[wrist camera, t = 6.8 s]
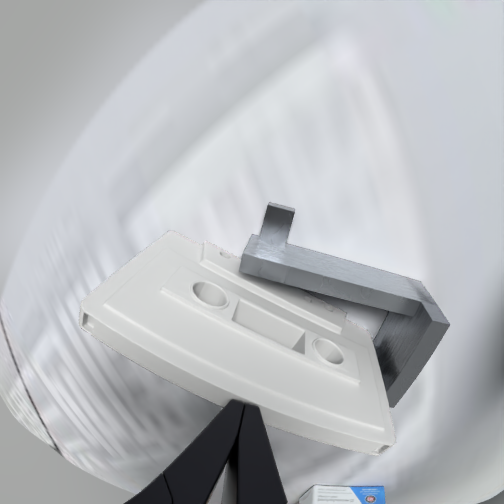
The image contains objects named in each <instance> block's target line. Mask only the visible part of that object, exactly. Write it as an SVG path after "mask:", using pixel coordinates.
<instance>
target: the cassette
mask: <svg viewBox="0 0 504 504" xmlns="http://www.w3.org/2000/svg"><path fill="white" fill-rule="evenodd" d="M240 263H241V259H240V258H239V257H237V256H235V255H233V254H231V253H229V252H227V251H225V250H223V249H221V248H219V247H217V246H216V245H214V244H212V243H210V242H208V241H205V242H204V243H203V244H198V243H196V242H194V241H192V240H190V239H189V238H187V237H185V236H183V235H181V234H179V233H177V232H175V231H168V232H167V233H165V234H164V235H163V236H161V237H160V238H159V239H157V240H156V241H155V242H153V243H152V244H151V245H149V246H148V247H147V248H146V249H144V250H143V251H142V252H140V253H139V254H138V255H137V256H135V257H134V258H133V259H131V260H130V261H129V262H128V263H126V264H125V265H124V266H123V267H121V268H120V269H119V270H118V271H116V272H115V273H114V274H113V275H111V276H110V277H109V278H108V279H106V280H105V281H104V282H103V283H102V284H100V285H99V286H98V287H97V288H96V289H94V290H93V291H92V292H91V293H90V294H88V295H87V296H86V297H85V298H84V299H83V300H82V301H81V306H80V314H79V326H80V327H81V329H83V330H84V331H86V332H87V333H89V334H90V335H92V336H93V337H95V338H96V339H98V340H99V341H101V342H102V343H104V344H105V345H107V346H108V347H110V348H112V349H113V350H115V351H116V352H118V353H120V354H121V355H123V356H125V357H126V358H128V359H130V360H131V361H133V362H135V363H136V364H138V365H140V366H142V367H143V368H145V369H147V370H149V371H150V372H152V373H154V374H156V375H158V376H160V377H161V378H163V379H165V380H167V381H169V382H171V383H173V384H175V385H177V386H179V387H181V388H183V389H185V390H187V391H189V392H191V393H193V394H195V395H197V396H199V397H201V398H203V399H206V400H208V401H210V402H212V403H214V404H217V405H219V406H221V407H223V408H224V407H225V406H226V405H227V404H228V402H229V401H230V400H232V399H234V400H238V401H242V402H244V404H246V403H249V404H253V405H257V406H259V408H260V411H261V414H262V418H263V421H264V424H266V425H269V426H271V427H274V428H277V429H280V430H283V431H286V432H289V433H292V434H295V435H298V436H301V437H304V438H307V439H311V440H314V441H318V442H321V443H325V444H328V445H332V446H336V447H339V448H343V449H347V450H352V451H356V452H360V453H365V454H369V455H374V456H379V455H380V454H382V453H383V452H385V451H386V450H388V449H389V448H390V447H392V446H393V445H395V443H396V436H395V431H394V426H393V422H392V417H391V412H390V408H389V403H388V399H387V395H386V390H385V386H384V382H383V378H382V374H381V370H380V367H379V363H378V359H377V355H376V352H375V348H374V344H373V341H372V337H371V334H370V332H369V331H368V330H366V329H365V328H363V327H361V326H359V325H357V324H355V323H353V322H351V321H349V320H347V319H346V314H347V313H346V312H344V311H342V310H340V309H338V308H336V307H334V306H332V305H330V304H328V303H326V302H324V301H322V300H320V299H318V298H316V297H314V296H312V295H310V294H308V293H307V292H305V291H303V290H301V289H299V288H297V287H295V286H291V285H287V284H283V283H280V282H276V281H272V280H269V279H265V278H261V277H258V276H254V275H250V274H247V273H243V272H239V267H240Z"/></svg>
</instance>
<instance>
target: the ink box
mask: <svg viewBox="0 0 504 504" xmlns="http://www.w3.org/2000/svg"><path fill="white" fill-rule="evenodd" d="M299 500H300V502H299V504H385V492H384V486H376V487H343V486H323V485H314V486H313V487H312V488H311V489H310V490H309V491H307V492H306V493H305V494H304V495H303V496H302V497H301V498H300V499H299Z"/></svg>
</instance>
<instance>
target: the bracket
mask: <svg viewBox="0 0 504 504" xmlns="http://www.w3.org/2000/svg"><path fill="white" fill-rule="evenodd" d="M294 213H295V209H294V208H290V207H286V206H283V205H279V204H275V203H271V202H269V204H268V206H267V210H266V214H265V218H264V222H263V226H262V230H261V234H260V236H258V235H254V234H252V236H251V238H250V240H249V242H248V244H247V246H246V248H245V250H244V252H243V254H242V259H241V263H240V267H239V272H243V273H247V274H250V275H254V276H258V277H261V278H265V279H269V280H272V281H276V282H280V283H283V284H287V285H291V286H295V287H298V288H302V289H306V290H310V291H313V292H317V293H321V294H325V295H329V296H333V297H336V298H340V299H344V300H348V301H352V302H356V303H360V304H364V305H368V306H372V307H376V308H380V309H384V310H388V311H389V313H388V315H387V317H386V319H385V321H384V323H383V325H382V327H381V328H380V330H379V332H378V334H377V336H376V338H375V340H374V342H373V344H374V348H375V352H376V355H377V359H378V363H379V367H380V370H381V374H382V378H383V382H384V386H385V390H386V395H387V399H388V403H389V407H392V408H394V407H395V405H396V404H397V403H398V402H399V400H400V399H401V398H402V396H403V395H404V394H405V392H406V391H407V390H408V388H409V387H410V386H411V384H412V383H413V382H414V380H415V379H416V377H417V376H418V375H419V373H420V372H421V370H422V369H423V367H424V366H425V364H426V363H427V361H428V360H429V358H430V357H431V355H432V354H433V352H434V351H435V349H436V347H437V346H438V344H439V343H440V341H441V339H442V338H443V336H444V334H445V333H446V331H447V329H448V327H449V326H450V323H449V322H448V320H447V319H446V317H445V316H444V314H443V313H442V311H441V310H440V308H439V307H438V305H437V304H436V302H435V301H434V300H433V298H432V297H431V295H430V294H429V292H428V291H427V290H426V288H425V287H424V285H423V284H422V283H421V281H417V280H414V279H411V278H407V277H404V276H400V275H397V274H393V273H390V272H387V271H383V270H380V269H376V268H373V267H369V266H366V265H362V264H359V263H355V262H352V261H348V260H345V259H341V258H338V257H334V256H330V255H327V254H323V253H320V252H316V251H312V250H309V249H305V248H302V247H298V246H294V245H291V244H287V243H286V241H287V238H288V234H289V231H290V227H291V224H292V220H293V216H294Z"/></svg>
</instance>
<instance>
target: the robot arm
mask: <svg viewBox="0 0 504 504" xmlns="http://www.w3.org/2000/svg"><path fill="white" fill-rule="evenodd" d="M226 463H227V466H226V472H225V480H224V487H223V494H222V501H221V504H287V502H288V501H287V498H286V495H285V492H284V489H283V485H282V482H281V479H280V476H279V472H278V469H277V466H276V462H275V459H274V456H273V452H272V449H271V446H270V442H269V439H268V435H267V432H266V428H265V425H264V421H263V418H262V414H261V411H260V408H259V406H257V405H253V404H249V403H246V404H244V402H242V401H238V400H234V399H232V400H230V401H229V402H228V404H227V405H226V406H225V407H224V408H223V409H222V410H221V411H220V412H219V414H218V415H217V416H216V417H215V418H214V419H213V420H212V421H211V422H210V423H209V425H208V426H207V427H206V428H205V429H204V430H203V431H202V432H201V433H200V434H199V435H198V436H197V437H196V438H195V440H194V441H193V442H192V443H191V444H190V445H189V446H188V447H187V448H186V449H185V450H184V451H183V452H182V453H181V454H180V455H179V456H178V457H177V458H176V459H175V460H174V461H173V462H172V463H171V464H170V465H169V466H168V467H167V468H166V469H165V470H164V471H163V474H162V473H161V474H160V475H159V476H158V477H157V478H155V479H154V480H153V481H152V482H151V483H150V484H149V485H148V486H147V487H145V488H144V489H143V490H142V491H141V492H139V493H138V494H137V495H135V496H134V497H133V498H131V499H130V500H128V501H127V502H125V503H124V504H208V502H209V500H210V498H211V496H212V493H213V491H214V489H215V487H216V485H217V483H218V481H219V479H220V477H221V474H222V472H223V470H224V468H225V465H226Z"/></svg>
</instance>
